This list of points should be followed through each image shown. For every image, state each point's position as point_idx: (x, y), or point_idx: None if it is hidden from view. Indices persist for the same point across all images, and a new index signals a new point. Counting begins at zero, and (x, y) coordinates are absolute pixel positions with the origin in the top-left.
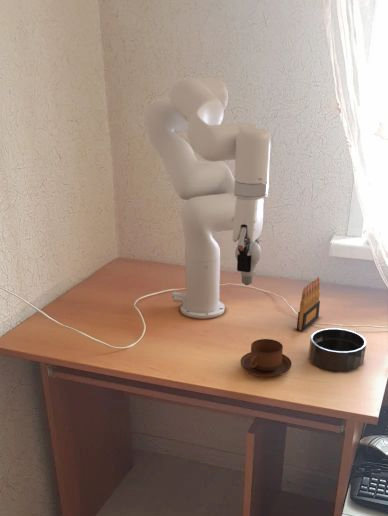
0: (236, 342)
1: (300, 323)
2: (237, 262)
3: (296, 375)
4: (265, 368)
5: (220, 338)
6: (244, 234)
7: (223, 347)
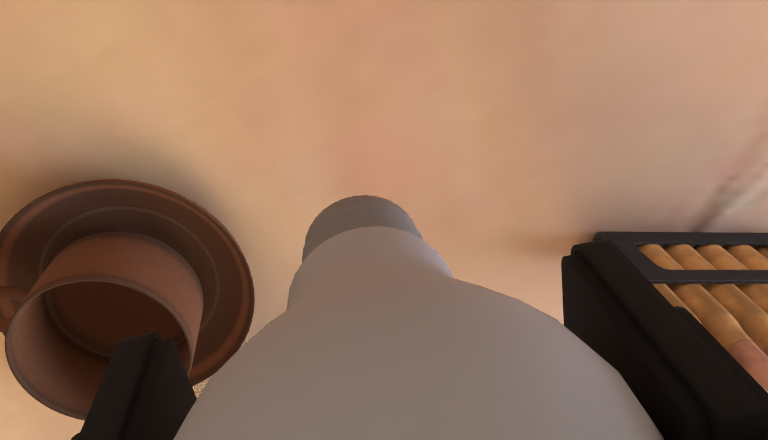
0: (321, 22)
1: None
2: (85, 429)
3: None
4: (55, 328)
5: None
6: None
7: None
